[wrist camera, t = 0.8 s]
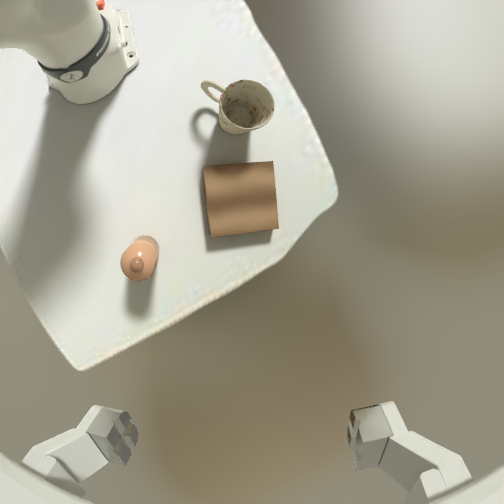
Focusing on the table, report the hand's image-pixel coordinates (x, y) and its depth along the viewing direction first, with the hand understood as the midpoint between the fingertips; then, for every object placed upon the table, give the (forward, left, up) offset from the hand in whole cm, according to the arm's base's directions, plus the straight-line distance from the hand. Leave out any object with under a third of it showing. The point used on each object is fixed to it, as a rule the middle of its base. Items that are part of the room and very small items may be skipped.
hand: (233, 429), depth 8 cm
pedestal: (-6, +10, -43) cm, 45 cm away
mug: (-22, +9, -44) cm, 50 cm away
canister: (+1, -8, -43) cm, 44 cm away
